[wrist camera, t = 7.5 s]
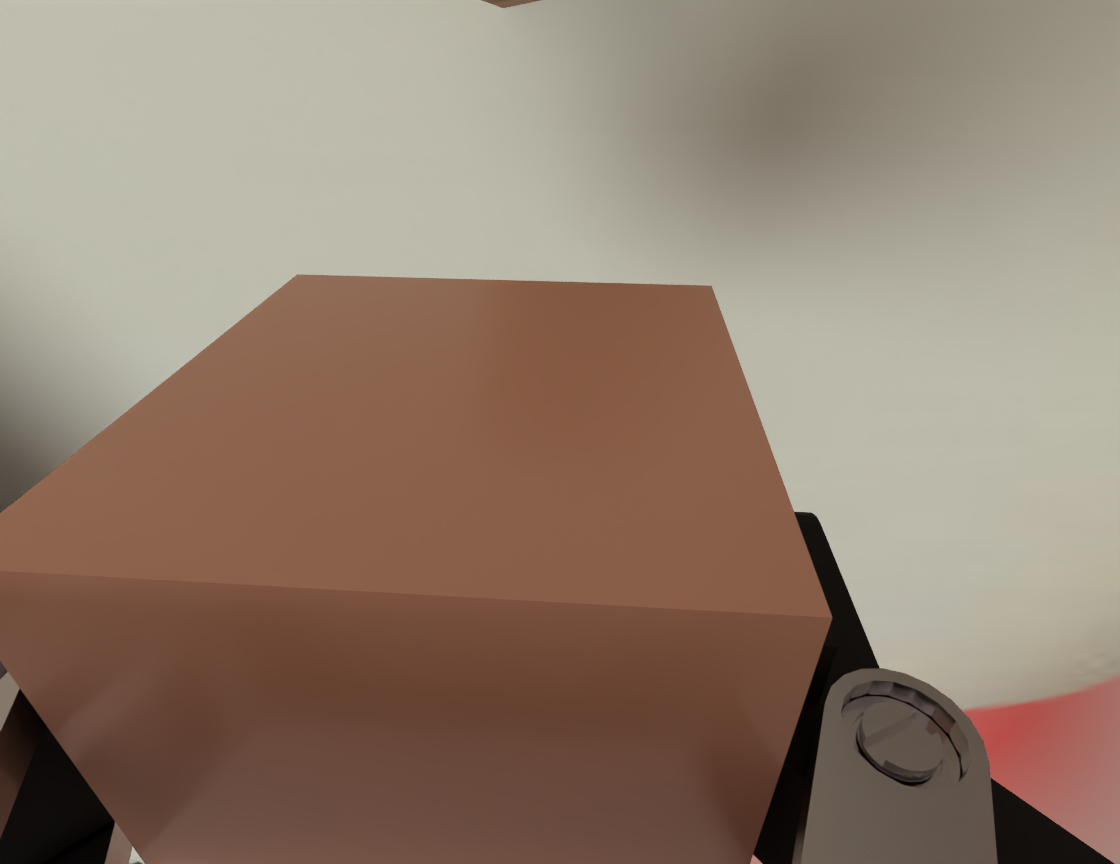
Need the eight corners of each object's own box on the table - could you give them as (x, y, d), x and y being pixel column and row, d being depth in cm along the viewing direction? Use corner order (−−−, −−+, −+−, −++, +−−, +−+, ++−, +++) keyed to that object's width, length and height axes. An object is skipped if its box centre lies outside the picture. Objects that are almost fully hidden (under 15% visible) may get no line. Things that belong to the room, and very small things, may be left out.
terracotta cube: (710, 285, 9) (832, 618, 4) (670, 588, 12) (709, 983, 7) (297, 275, 9) (-67, 567, 4) (363, 571, 13) (197, 936, 8)
